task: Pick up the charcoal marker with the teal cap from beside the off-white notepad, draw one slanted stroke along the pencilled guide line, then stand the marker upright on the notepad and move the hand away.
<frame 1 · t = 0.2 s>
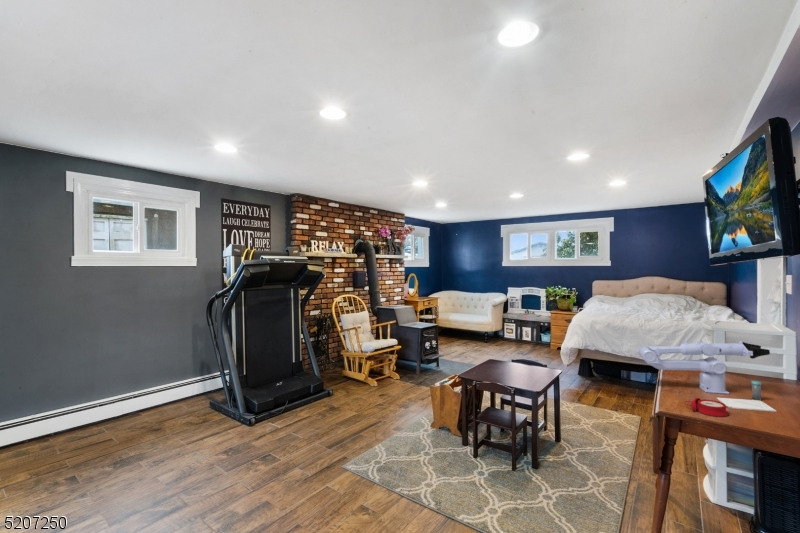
hand: (764, 349, 176), 21 cm above the table, tool horizontal, fingers open, 7 cm apart
alarm clock: (706, 412, 160), on the table
notepad: (745, 404, 165), on the table
marker: (756, 399, 171), on the table
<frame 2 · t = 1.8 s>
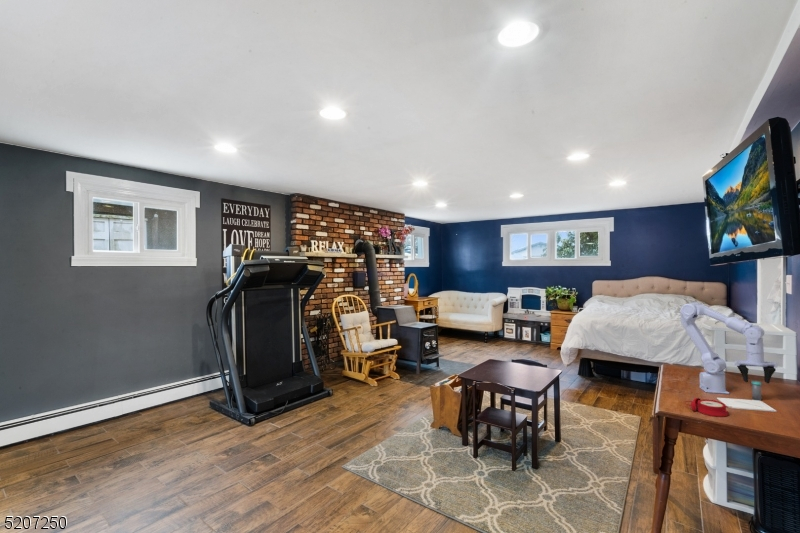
hand: (756, 382, 171), 8 cm above the table, tool pointing down, fingers open, 7 cm apart
nothing on the table moved.
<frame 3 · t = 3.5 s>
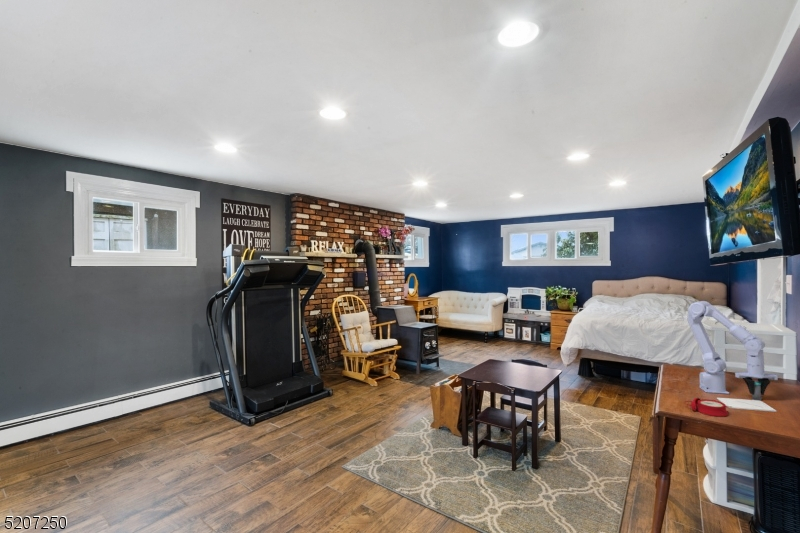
hand: (756, 394, 171), 2 cm above the table, tool pointing down, fingers closed on marker, 3 cm apart
marker: (756, 399, 171), on the table, touching gripper
everything else where it was.
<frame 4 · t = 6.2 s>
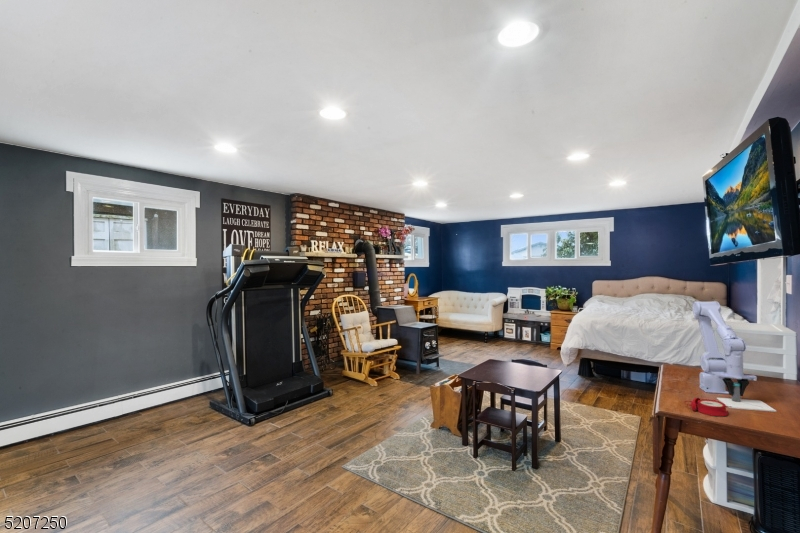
hand: (735, 395, 169), 3 cm above the table, tool pointing down, fingers closed on marker, 3 cm apart
marker: (736, 400, 169), point 1 cm above the table, touching gripper
everything else where it was.
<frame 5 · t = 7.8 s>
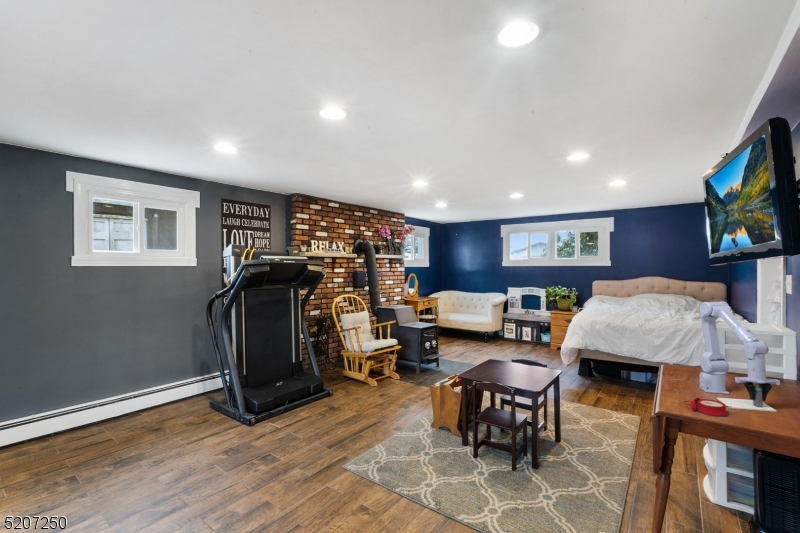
hand: (757, 400, 162), 3 cm above the table, tool pointing down, fingers closed on marker, 3 cm apart
marker: (758, 405, 162), point 1 cm above the table, touching gripper
everything else where it was.
when the fingers open (4 cm above the table, at t = 9.1 s): marker stays where it is, resting on notepad.
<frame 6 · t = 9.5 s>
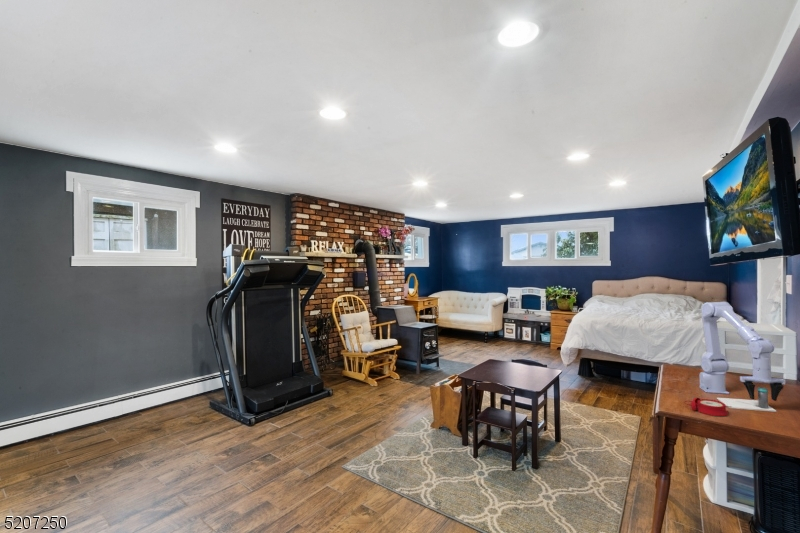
hand: (762, 399, 161), 4 cm above the table, tool pointing down, fingers open, 7 cm apart
marker: (763, 407, 161), point 1 cm above the table, touching notepad
everything else where it was.
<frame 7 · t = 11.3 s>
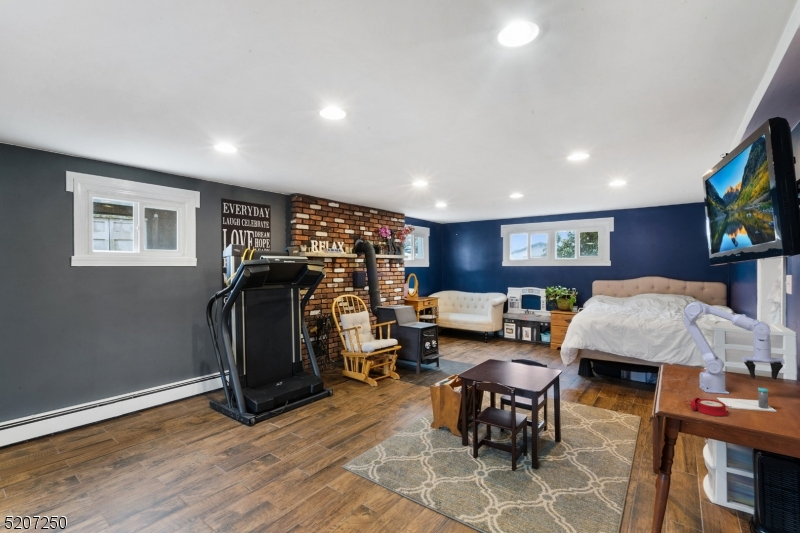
hand: (763, 378, 171), 9 cm above the table, tool pointing down, fingers open, 7 cm apart
nothing on the table moved.
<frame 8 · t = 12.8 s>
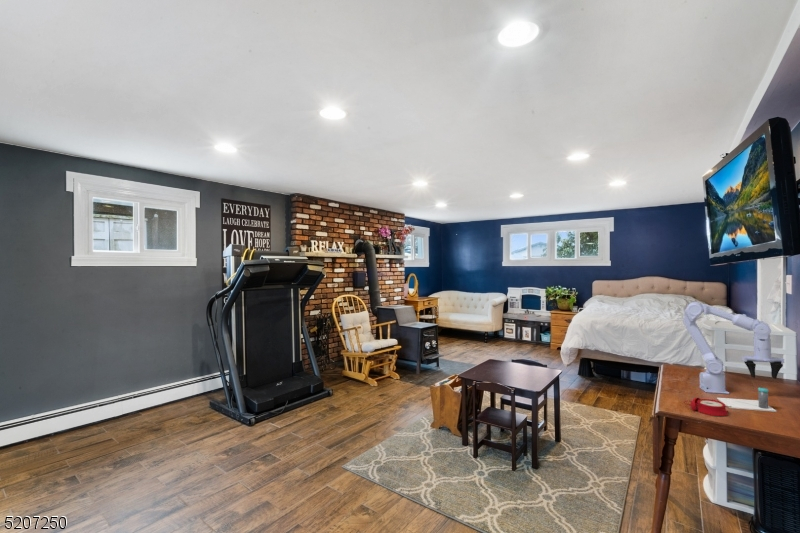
hand: (763, 377, 172), 9 cm above the table, tool pointing down, fingers open, 7 cm apart
nothing on the table moved.
at the end: marker inside the target area on the notepad (5.9 cm from its centre), point 0.5 cm above the notepad's base; marker tilted 1°; the gripper is holding nothing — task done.
